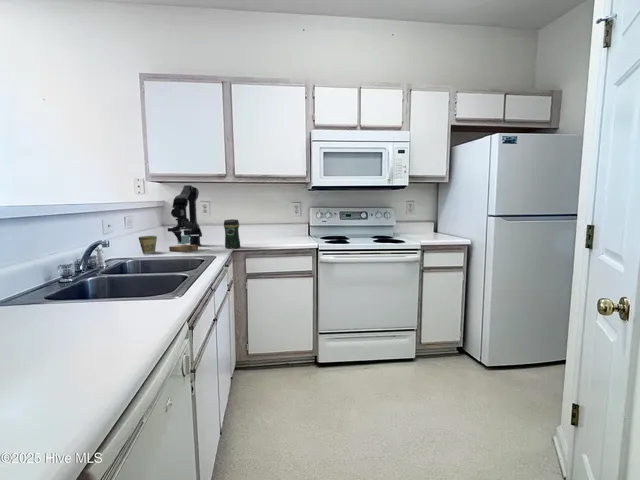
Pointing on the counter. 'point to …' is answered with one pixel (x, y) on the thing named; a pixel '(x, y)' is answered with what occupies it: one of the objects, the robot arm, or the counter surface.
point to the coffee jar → (231, 233)
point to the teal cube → (184, 239)
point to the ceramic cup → (148, 244)
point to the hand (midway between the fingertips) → (183, 241)
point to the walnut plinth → (183, 248)
